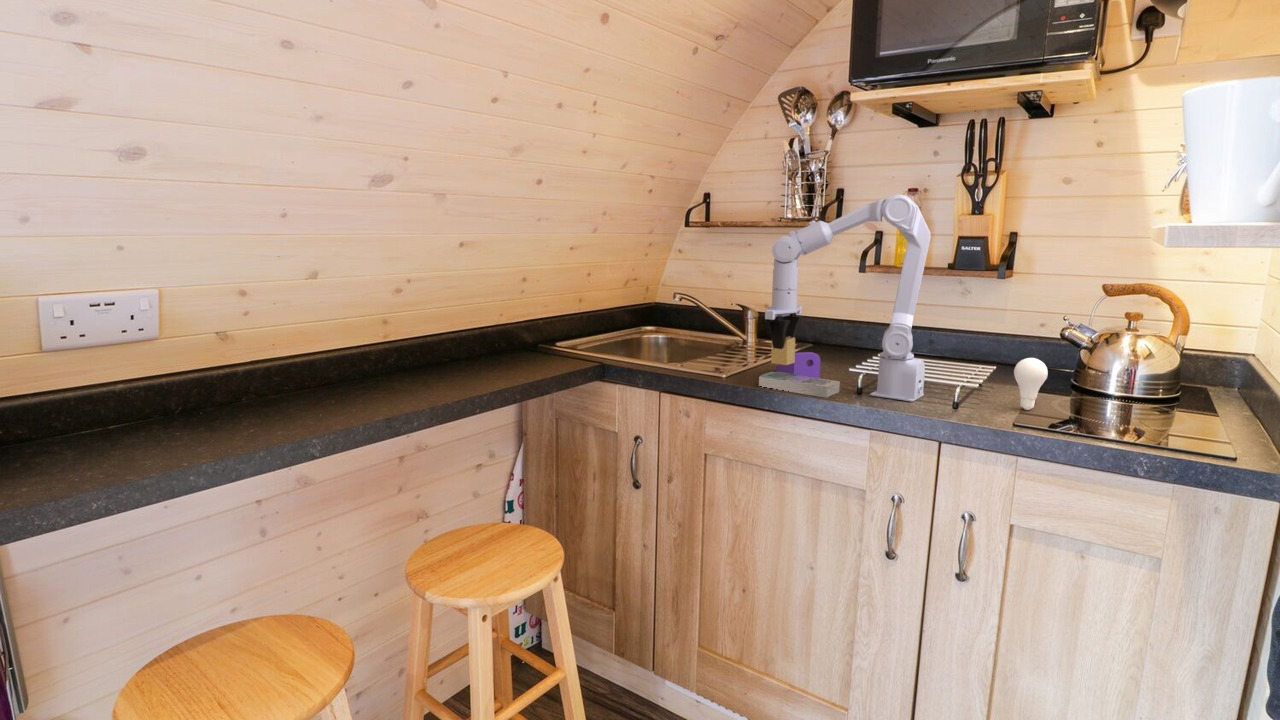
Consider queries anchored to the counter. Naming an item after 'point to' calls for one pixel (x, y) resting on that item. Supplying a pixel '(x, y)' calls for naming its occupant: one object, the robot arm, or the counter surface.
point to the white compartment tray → (799, 384)
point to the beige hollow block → (784, 352)
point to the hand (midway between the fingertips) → (782, 347)
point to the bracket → (803, 365)
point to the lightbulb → (1030, 380)
